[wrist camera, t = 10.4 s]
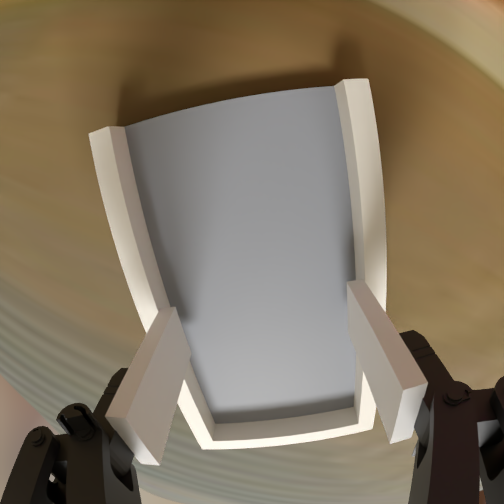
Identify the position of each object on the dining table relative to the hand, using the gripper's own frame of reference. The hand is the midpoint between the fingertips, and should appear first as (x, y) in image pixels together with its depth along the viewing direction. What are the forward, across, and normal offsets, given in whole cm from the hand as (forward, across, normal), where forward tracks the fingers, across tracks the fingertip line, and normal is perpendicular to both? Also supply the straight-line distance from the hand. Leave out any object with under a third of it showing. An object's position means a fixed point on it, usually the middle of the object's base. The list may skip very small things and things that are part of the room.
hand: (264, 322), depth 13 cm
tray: (+2, 0, 0) cm, 2 cm away
